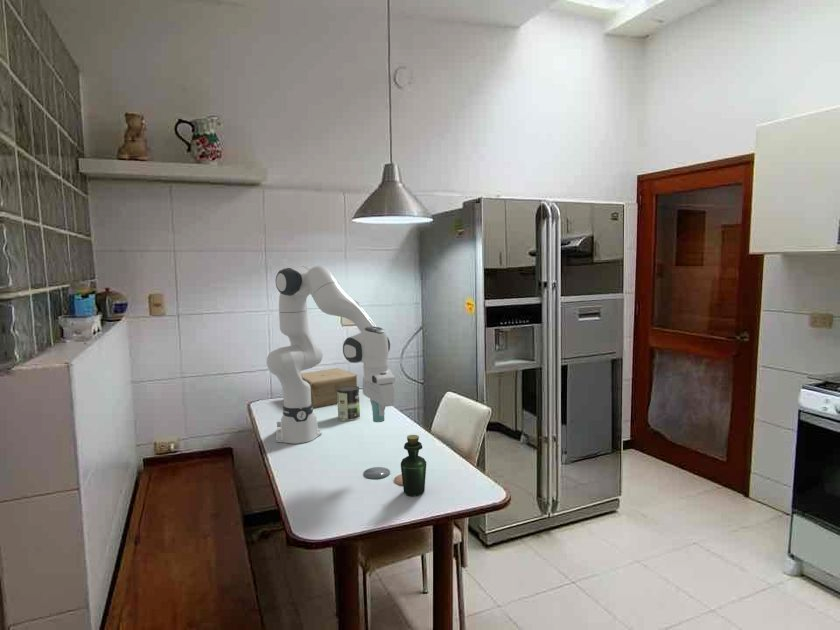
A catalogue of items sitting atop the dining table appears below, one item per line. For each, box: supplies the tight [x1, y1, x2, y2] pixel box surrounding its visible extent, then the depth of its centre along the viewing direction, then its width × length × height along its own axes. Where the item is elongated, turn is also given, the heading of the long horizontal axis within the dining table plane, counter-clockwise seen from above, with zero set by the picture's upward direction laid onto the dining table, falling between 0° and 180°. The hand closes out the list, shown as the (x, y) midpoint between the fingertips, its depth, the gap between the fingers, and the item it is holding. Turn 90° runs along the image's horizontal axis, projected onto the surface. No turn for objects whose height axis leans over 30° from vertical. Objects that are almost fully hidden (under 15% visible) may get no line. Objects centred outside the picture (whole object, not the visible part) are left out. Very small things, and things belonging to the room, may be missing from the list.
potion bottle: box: [400, 434, 427, 497], centre depth 162 cm, size 8×8×18 cm
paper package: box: [300, 367, 358, 409], centre depth 273 cm, size 27×26×14 cm
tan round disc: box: [393, 473, 403, 487], centre depth 172 cm, size 9×9×1 cm
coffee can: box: [337, 385, 361, 422], centre depth 240 cm, size 10×10×14 cm
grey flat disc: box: [363, 466, 391, 480], centre depth 178 cm, size 9×9×1 cm
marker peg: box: [371, 401, 385, 423], centre depth 180 cm, size 4×4×7 cm
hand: (378, 413), depth 180 cm, fingers closed on marker peg, 4 cm apart
